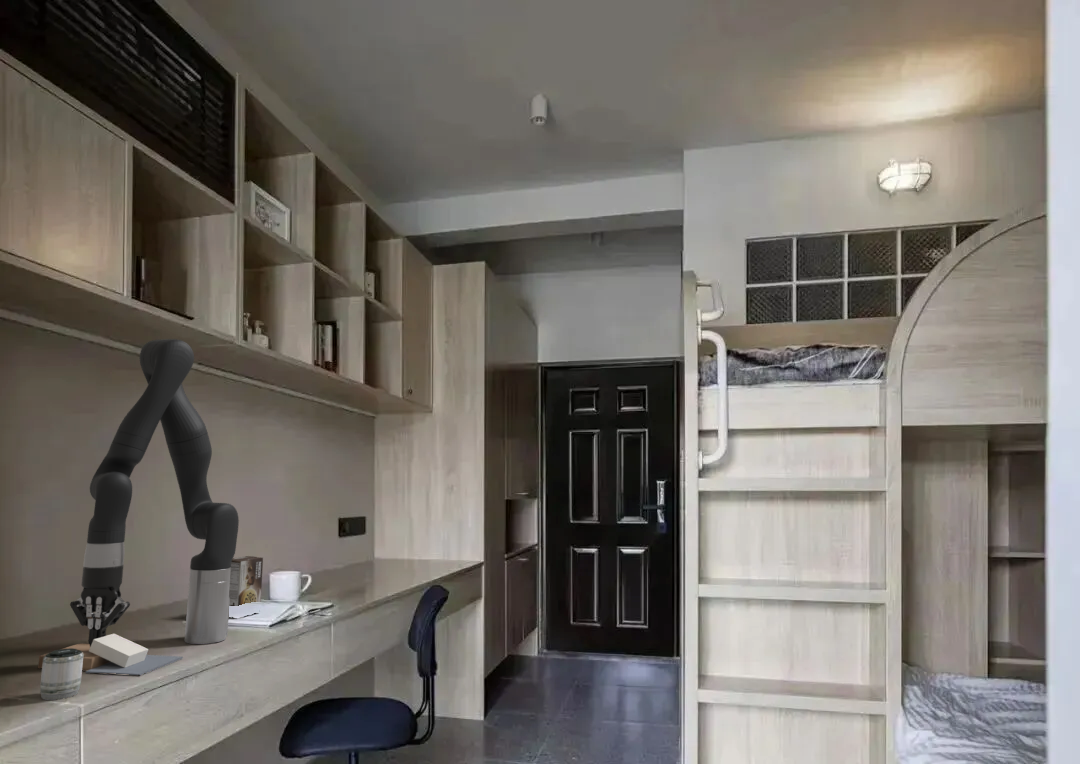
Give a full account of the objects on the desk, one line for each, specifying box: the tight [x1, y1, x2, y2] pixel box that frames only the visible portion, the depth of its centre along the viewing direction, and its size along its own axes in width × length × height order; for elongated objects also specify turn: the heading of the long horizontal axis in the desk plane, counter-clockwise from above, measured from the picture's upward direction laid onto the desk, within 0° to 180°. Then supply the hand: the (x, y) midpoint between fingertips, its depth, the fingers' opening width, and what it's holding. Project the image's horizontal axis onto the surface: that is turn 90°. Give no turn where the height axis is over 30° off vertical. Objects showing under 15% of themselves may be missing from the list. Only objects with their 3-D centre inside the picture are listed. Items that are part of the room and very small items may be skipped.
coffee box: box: [229, 555, 264, 606], centre depth 205 cm, size 9×6×16 cm
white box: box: [89, 633, 149, 668], centre depth 150 cm, size 6×9×2 cm, turn 83°
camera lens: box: [39, 648, 84, 701], centre depth 130 cm, size 6×6×8 cm
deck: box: [37, 643, 111, 670], centre depth 152 cm, size 11×12×2 cm
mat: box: [84, 654, 184, 676], centre depth 150 cm, size 14×12×1 cm
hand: (96, 646), depth 152 cm, fingers closed
